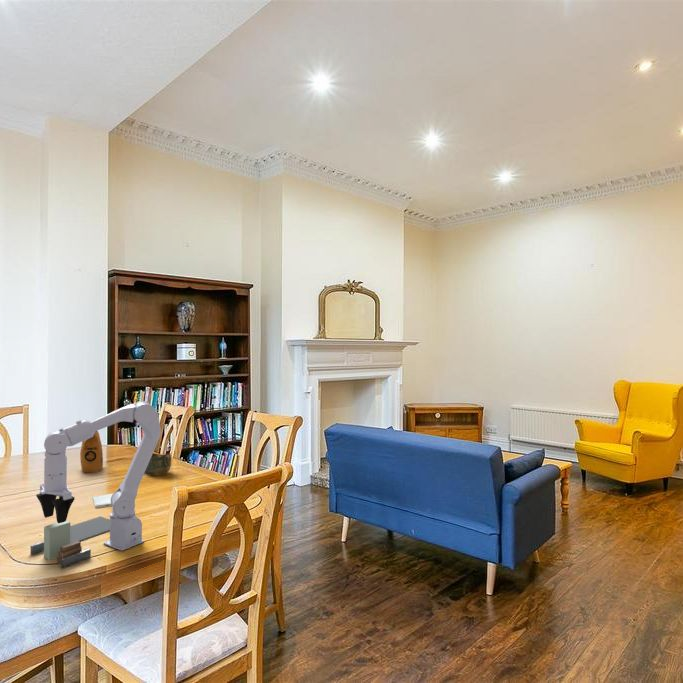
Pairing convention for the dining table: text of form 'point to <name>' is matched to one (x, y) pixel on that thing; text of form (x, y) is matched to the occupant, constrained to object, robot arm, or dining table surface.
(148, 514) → the dining table surface
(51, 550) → the tall pastel pillar
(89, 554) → the offcut rack
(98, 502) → the hard drive
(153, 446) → the robot arm
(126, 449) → the dining table surface
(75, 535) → the slate mat
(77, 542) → the offcut stack
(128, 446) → the dining table surface
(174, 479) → the dining table surface
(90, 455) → the coffee package
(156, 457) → the dark green bowl
